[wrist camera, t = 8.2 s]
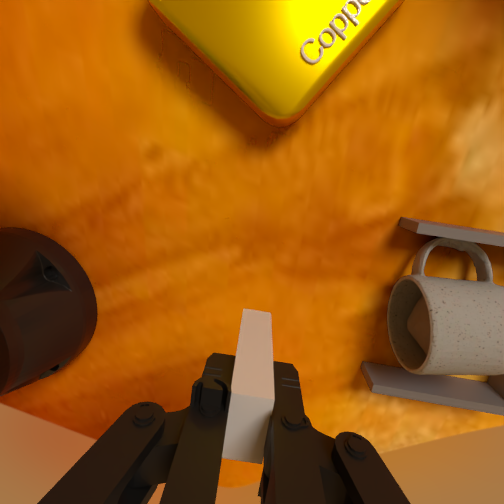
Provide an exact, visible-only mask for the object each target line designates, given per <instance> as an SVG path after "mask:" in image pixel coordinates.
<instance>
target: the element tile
mask: <svg viewBox="0 0 504 504" xmlns="http://www.w3.org/2000/svg"><path fill="white" fill-rule="evenodd" d="M147 1H148V2H149V3H150V5H151V6H152V7H153V9H154V10H155V11H156V13H157V14H158V16H159V17H160V18H161V20H162V21H163V22H164V23H165V24H166V25H167V26H168V27H169V28H170V29H171V30H172V31H173V32H174V33H175V34H176V35H177V36H178V37H179V38H180V39H181V40H182V41H183V42H184V43H185V44H186V45H187V46H188V47H189V48H190V49H191V50H192V51H193V52H194V53H195V54H196V55H197V56H198V57H199V58H200V59H201V60H202V61H203V62H204V63H205V64H206V65H207V66H208V67H209V68H210V69H211V70H212V71H214V72H215V73H216V74H217V75H218V76H219V77H220V78H221V79H222V80H223V81H224V82H225V83H226V84H227V85H228V86H229V87H230V88H231V89H232V90H233V91H234V92H235V93H236V94H237V95H238V96H239V97H240V98H241V99H242V100H243V101H244V102H245V103H246V104H247V105H248V106H249V107H250V108H251V109H252V110H253V111H254V112H255V113H256V114H257V115H258V116H259V117H260V118H261V119H262V120H264V121H265V122H267V123H268V124H270V125H273V126H275V127H286V126H288V125H290V124H292V123H294V122H296V121H297V120H298V119H299V118H300V117H301V116H302V115H303V114H304V113H305V112H306V111H307V109H308V108H309V107H310V106H311V105H312V104H313V103H314V102H315V100H316V99H317V98H318V97H319V96H320V95H321V94H322V93H323V91H324V90H325V89H326V88H327V87H328V86H329V85H330V84H331V82H332V81H333V80H334V79H335V78H336V77H337V76H338V75H339V73H340V72H341V71H342V70H343V69H344V68H345V67H346V66H347V64H348V63H349V62H350V61H351V60H352V59H353V58H354V57H355V55H356V54H357V53H358V52H359V51H360V50H361V49H362V48H363V46H364V45H365V44H366V43H367V42H368V41H369V40H370V38H371V37H372V36H373V35H374V34H375V33H376V32H377V31H378V29H379V28H380V27H381V26H382V25H383V24H384V23H385V22H386V20H387V19H388V18H389V17H390V16H391V15H392V14H393V13H394V11H395V10H396V9H397V8H398V7H399V6H400V5H401V4H402V2H403V1H404V0H147Z"/></svg>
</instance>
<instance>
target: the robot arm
mask: <svg viewBox="0 0 504 504" xmlns="http://www.w3.org/2000/svg"><path fill="white" fill-rule="evenodd" d="M96 321H97V303H96V298H95V294H94V290H93V287H92V285H91V282H90V280H89V278H88V276H87V275H86V273H85V271H84V270H83V268H82V267H81V265H80V264H79V263H78V261H77V260H76V259H75V258H74V257H73V256H72V255H71V254H70V253H69V252H68V251H67V250H66V249H65V248H63V247H62V246H61V245H59V244H58V243H56V242H55V241H53V240H52V239H50V238H48V237H46V236H44V235H42V234H39V233H37V232H34V231H30V230H26V229H21V228H0V396H2V395H5V394H7V393H9V392H12V391H14V390H17V389H19V388H21V387H24V386H26V385H29V384H31V383H33V382H35V381H37V380H39V379H43V378H45V377H48V376H50V375H52V374H54V373H56V372H58V371H59V370H61V369H63V368H64V367H65V366H67V365H68V364H69V363H70V362H71V361H72V360H73V359H74V358H76V357H77V356H78V355H79V354H80V353H81V352H82V351H83V350H84V349H85V348H86V346H87V345H88V343H89V342H90V340H91V338H92V336H93V333H94V330H95V327H96ZM263 456H264V467H263V472H262V477H261V482H260V487H259V492H258V496H260V497H261V504H410V502H409V501H408V499H407V498H406V496H405V495H404V493H403V491H402V490H401V488H400V487H399V485H398V484H397V482H396V481H395V479H394V477H393V476H392V474H391V473H390V471H389V470H388V468H387V467H386V465H385V464H384V462H383V460H382V459H381V458H380V456H379V454H378V453H377V451H376V450H375V448H374V447H373V446H372V444H371V443H370V442H369V441H368V440H367V439H365V438H364V437H362V436H361V435H358V434H356V433H353V432H342V433H339V434H338V435H337V436H336V438H335V439H334V438H332V437H329V436H327V435H325V434H323V433H321V432H319V431H317V430H316V429H315V428H313V427H312V425H311V422H310V420H309V418H308V417H307V416H306V415H305V413H304V406H303V400H302V394H301V389H300V382H299V376H298V371H297V370H296V369H295V367H294V366H293V364H290V363H283V362H277V361H273V348H272V324H271V313H269V312H263V311H256V310H250V309H243V314H242V321H241V327H240V333H239V340H238V346H237V352H236V356H233V355H226V354H220V353H213V354H212V355H211V356H210V357H209V358H208V359H207V361H206V365H205V368H204V371H203V374H202V377H201V378H200V379H198V380H196V381H195V383H194V384H193V386H192V394H191V403H190V406H188V407H187V408H185V409H183V410H180V411H176V412H168V413H165V411H164V409H163V408H162V406H160V405H158V404H157V403H153V402H140V403H137V404H135V405H132V406H131V407H130V408H128V409H127V410H126V411H125V412H124V413H123V414H122V415H121V416H120V417H119V418H118V419H117V420H116V421H115V422H114V424H113V425H112V426H111V427H110V428H109V429H108V430H107V431H106V432H105V433H104V434H103V435H102V436H101V437H100V438H99V439H98V440H97V441H96V443H94V445H93V446H92V447H91V448H90V449H89V450H88V451H87V452H86V453H85V454H84V455H83V456H82V457H81V458H80V459H79V460H78V461H77V462H76V463H75V465H74V466H73V467H72V468H71V469H70V470H69V471H68V472H67V473H66V474H65V475H64V476H63V477H62V478H61V479H60V480H59V481H58V482H57V484H56V485H55V486H54V487H53V488H52V489H51V490H50V491H49V492H48V493H47V494H46V495H45V496H44V497H43V498H42V499H41V500H40V501H39V502H38V503H37V504H147V503H148V501H149V500H150V498H151V497H152V495H153V493H154V492H155V490H156V488H157V486H158V484H161V483H166V484H165V488H164V491H163V494H162V497H161V501H160V504H215V500H216V493H217V486H218V480H219V473H220V466H221V459H222V458H226V459H232V460H239V461H245V462H252V463H258V464H262V461H263Z"/></svg>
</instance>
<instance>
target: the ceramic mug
mask: <svg viewBox="0 0 504 504" xmlns="http://www.w3.org/2000/svg"><path fill="white" fill-rule="evenodd" d="M437 245H439V246H446V247H452V248H455V249H457V250H459V251H465V252H467V253H468V255H469V256H470V257H471V258H472V260H473V262H474V266H475V267H476V273H477V281H469V280H454V279H448V278H439V277H427V276H425V275H424V266H425V263H426V260H427V257H428V255H429V253H430V251H431V250H432V249H433V248H434V247H436V246H437ZM387 326H388V334H389V340H390V344H391V346H392V349H393V352H394V354H395V356H396V358H397V360H398V362H399V363H400V364H401V365H402V367H403V368H404V369H406V370H407V371H408V372H410V373H414V374H419V375H427V374H432V375H500V374H504V287H503V286H499V285H496V284H494V283H493V272H492V268H491V263H490V261H489V259H488V256H487V254H486V253H485V252H484V251H483V250H482V249H481V248H480V247H479V246H478V245H477V244H476V243H474V242H470V241H464V240H457V239H451V238H445V237H438V238H436V239H433V240H431V241H429V242H427V243H426V244H425V245H423V246H422V247H421V248H420V249H419V251H418V252H417V254H416V256H415V259H414V262H413V266H412V273H411V275H407V276H403V277H401V278H400V279H399V280H398V281H397V282H396V284H395V285H394V287H393V289H392V292H391V295H390V299H389V302H388V310H387Z"/></svg>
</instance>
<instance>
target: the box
mask: <svg viewBox="0 0 504 504" xmlns="http://www.w3.org/2000/svg"><path fill="white" fill-rule="evenodd" d="M399 226H400V227H403V228H405V229H408V230H410V231H413V232H415V233H419V234H426V235H432V236H438V237H445V238H451V239H457V240H464V241H470V242H477V243H483V244H489V245H496V246H502V247H504V233H502V232H495V231H489V230H482V229H476V228H470V227H463V226H457V225H450V224H444V223H437V222H431V221H424V220H418V219H412V218H405V217H401V219H400V223H399ZM361 370H362V372H363V375H364V377H365V379H366V381H367V384H368V386H369V388H370V390H371V392H372V393H378V394H384V395H390V396H395V397H401V398H407V399H412V400H418V401H424V402H429V403H435V404H441V405H446V406H452V407H458V408H464V409H469V410H475V411H481V412H486V413H492V414H498V415H503V416H504V374H500V375H490V376H489V379H488V381H487V383H486V382H480V381H474V380H469V379H463V378H457V377H451V376H445V375H432V374H427V375H419V374H414V373H410V372H408V371H407V370H406V369H404V368H399V367H393V366H387V365H381V364H376V363H370V362H364V361H363V362H362V365H361Z"/></svg>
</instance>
